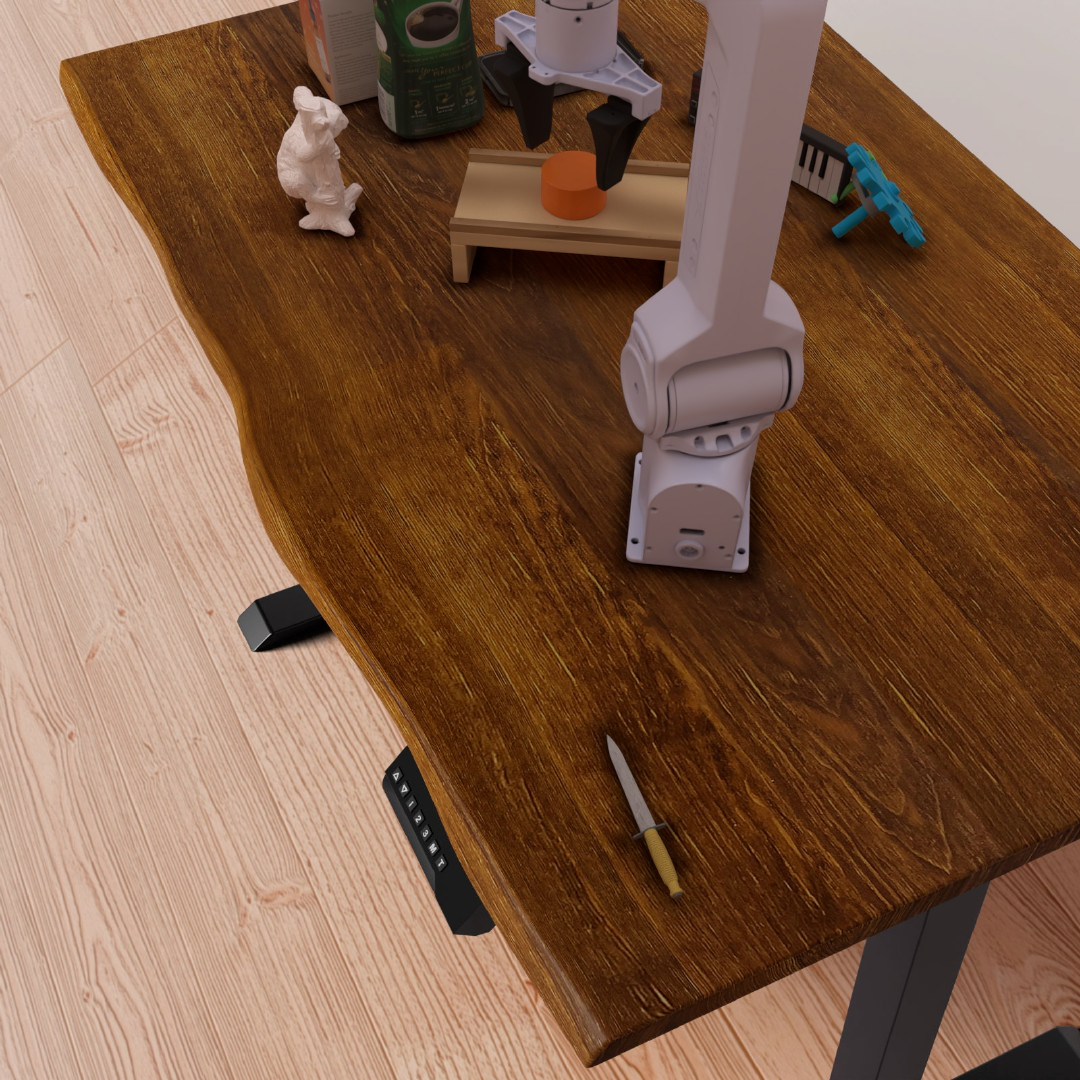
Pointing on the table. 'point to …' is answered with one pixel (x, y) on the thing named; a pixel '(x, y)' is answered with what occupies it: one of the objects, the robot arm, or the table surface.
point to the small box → (342, 47)
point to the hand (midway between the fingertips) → (573, 163)
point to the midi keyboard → (805, 156)
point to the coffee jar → (427, 67)
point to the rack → (523, 223)
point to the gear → (876, 198)
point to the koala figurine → (317, 164)
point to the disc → (571, 186)
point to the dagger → (645, 822)
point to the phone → (560, 88)
